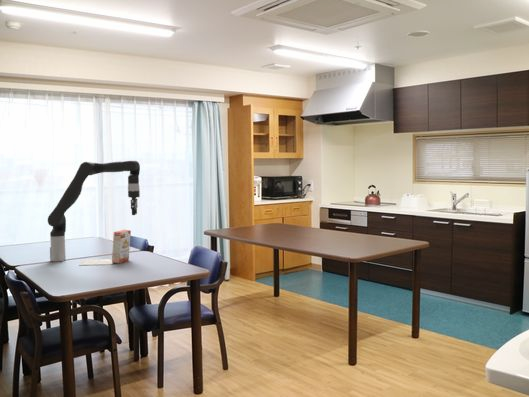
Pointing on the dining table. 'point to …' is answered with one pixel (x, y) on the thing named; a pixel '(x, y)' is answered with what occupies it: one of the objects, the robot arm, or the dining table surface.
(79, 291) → the dining table surface
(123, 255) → the cracker box
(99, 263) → the mat
